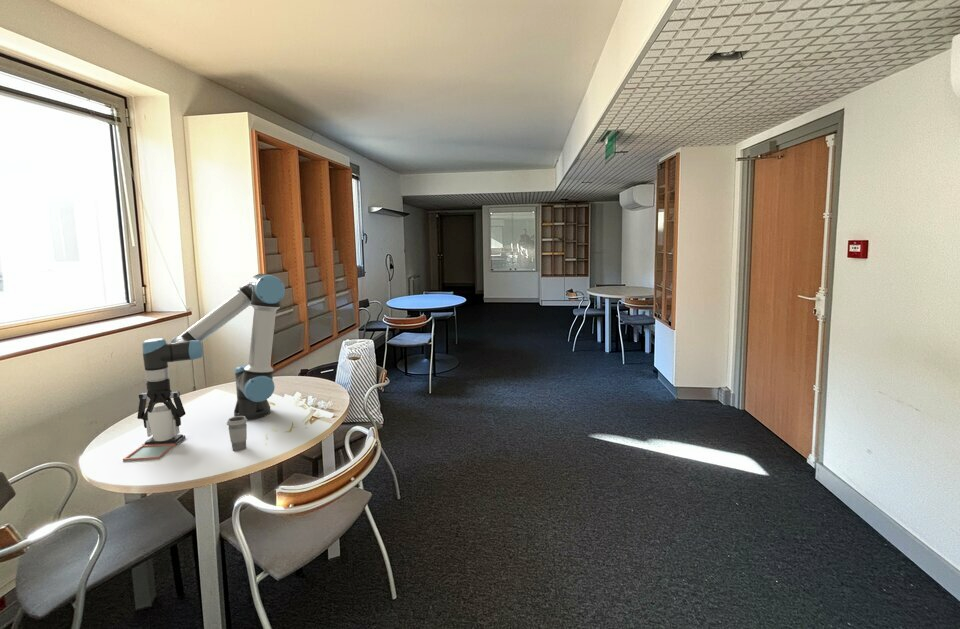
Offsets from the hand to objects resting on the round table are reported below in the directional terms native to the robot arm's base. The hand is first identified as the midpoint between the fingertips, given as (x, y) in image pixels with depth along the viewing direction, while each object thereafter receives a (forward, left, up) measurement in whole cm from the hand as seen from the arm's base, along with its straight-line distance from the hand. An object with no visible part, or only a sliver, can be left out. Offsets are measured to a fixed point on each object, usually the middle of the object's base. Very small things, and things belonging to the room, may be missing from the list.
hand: (163, 434), depth 187 cm
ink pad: (0, 0, -3) cm, 3 cm away
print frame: (0, +10, -3) cm, 11 cm away
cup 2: (-31, +10, -4) cm, 33 cm away
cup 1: (0, 0, -2) cm, 2 cm away
